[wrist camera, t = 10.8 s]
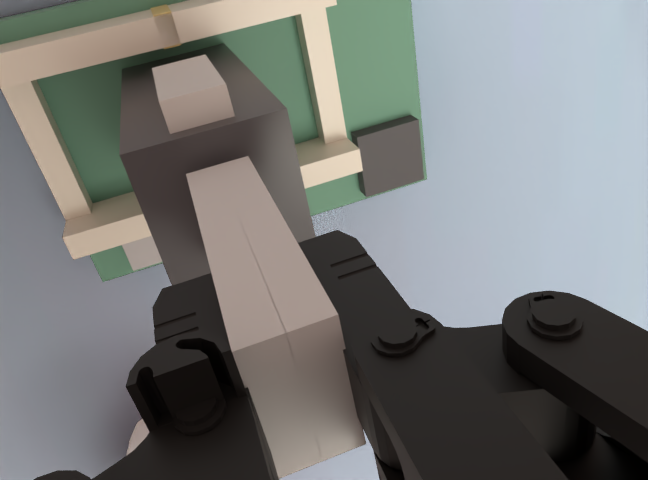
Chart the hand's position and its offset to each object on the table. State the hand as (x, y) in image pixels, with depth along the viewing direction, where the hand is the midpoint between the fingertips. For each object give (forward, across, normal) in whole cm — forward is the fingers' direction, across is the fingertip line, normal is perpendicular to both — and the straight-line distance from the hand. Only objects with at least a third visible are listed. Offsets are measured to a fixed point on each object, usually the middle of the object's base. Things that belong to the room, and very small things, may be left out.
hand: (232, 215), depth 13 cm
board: (+12, -2, +1) cm, 12 cm away
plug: (+11, 0, 0) cm, 11 cm away
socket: (+11, 0, 0) cm, 11 cm away
